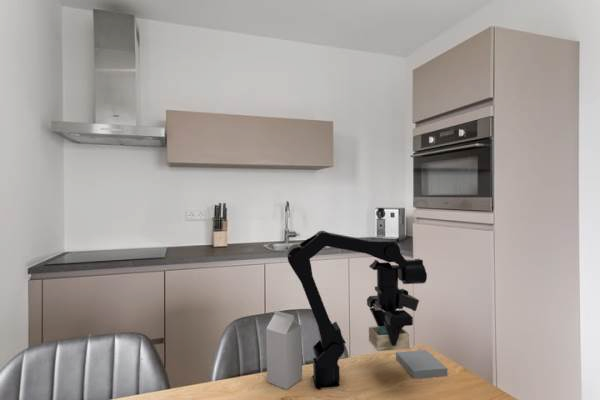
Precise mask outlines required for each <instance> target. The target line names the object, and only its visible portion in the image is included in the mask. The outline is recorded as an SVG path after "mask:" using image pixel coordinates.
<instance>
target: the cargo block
mask: <svg viewBox="0 0 600 400" xmlns="http://www.w3.org/2000/svg"><path fill="white" fill-rule="evenodd" d="M379 335H388V333H387V330H386V328H385V326H379Z"/></svg>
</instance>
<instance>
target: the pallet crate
mask: <svg viewBox="0 0 600 400" xmlns="http://www.w3.org/2000/svg"><path fill="white" fill-rule="evenodd" d="M368 342H370V344H371V345H372V346H373V347H374V349H375V350H376V351H377V352H385V351H398V350H407V349H408V350H409V349H410V333H409V332H407V331H406V330H405V329H404V327H403V328H402V329H401V331H400V334H399V337H398V340H397V344H396V346H392V345H391V342H390V339H389V336H388V335H379V326H377V325H375V326H368Z"/></svg>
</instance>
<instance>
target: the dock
mask: <svg viewBox="0 0 600 400" xmlns="http://www.w3.org/2000/svg"><path fill="white" fill-rule="evenodd" d="M395 359H396V361H397V362H398V363H399V364H400V365H401V367H402V368H404V370H406V372H407V373H408V374H409V375H410V376H411V377H412V378H413V379H414V380H416V379H426V378H436V377H446V376H447V377H448V367H447V366H446V365H444V364H443V363H442V362H441V361H440V360H438V359H437V358H436V357H435V356H434V355H433V354H432V353H431V352H429V351H428V350H427V349H420V350H407V351H395Z"/></svg>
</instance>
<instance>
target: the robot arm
mask: <svg viewBox="0 0 600 400" xmlns="http://www.w3.org/2000/svg"><path fill="white" fill-rule="evenodd" d="M326 247H329V248H335V249H341V250H346V251H352V252H356V253H362V254H366V255H368V256H372V257H374V258H376V259H374V261H373V262H372V263H370V265H368V267H369V268H370V269H372V270H373V271H376V282H377V283H376V284H377V285H376V286H374V291H376V293H377V295H369V296H367V299H366V306H367V307H369V311H370V312H371V314H372V316H373V319H374V321H375V324H376V326H385V328H386V330H387V333H388V336H389V339H390V342H391V345H392V346H396V344H397V340H398V337H399V334H400V331H401V329H402V328H403V329H404V327H406V326H408V327H409V326H413V324H414V317H413V316H412V315H411V314H410V313H408V312H407V311H406V310H405V309H404V308H406V309H410V310H412V311H414V312H416V311H417V309H418V306H419V302H420V299H417V298H416V297H414V296H412V295H410V294H409V291H408V290H406V289H404V288H399V281H401V282H402V284H403V285H414V284H415V285H417V284H418V285H419V284H426V282H427V277H428V276H427V275H428V274H427V271H426V267H425V265H424V261H423V259H420V258H415V259H414V258H413V259H406V258H405V257H404V256H403V255H402V253H401V248H400V246H399V245H398V243H397V242H395V241H392V240H389V239H386V238H365V239H364V238H359V237H354V236H348V235H344V234H338V233H333V232H328V231H325V230H318V231H317V232H316V233H315V234H313V235H312V236H311V237H309V238H307V239H305V240H303V241H302V242H300V243H296V244H292V245H290V247H288V248H287V251H286V258H287V262H288V263H289V265H290V267H291V269H292V270H293V272H294V274H295V275H296V276H297V278H298V280H299V281H300V283H301V286H302V288H303V290H304V293H305V294H304V295H305V296H306V299H307V301H308V304H309V307H310V310H311V312H312V314H313V316H314V319H315V322H316V325H317V331H318V337H319V340H318V341H317V342H316V343H315V344H314V345H313V347H312V350H313V353H314V357H312V363H313V364H312V366H313V367H312V370H313V372H312V373H313V375H312V376H311V379H312V381H313V384H314V387H315V389H316V390H321V389H326V388H337V387H340V383H339V382H340V381H341V380H340V377H341V375H340V366H339V363H338V362H339V359H340V358H341V357H342V356H343V354H344V352H345V351H346V350H345V345H344V344H347V342H346V341H345V339H344V336H343V334H342V330H341V328H340V326H339V324H338V322H337V321H334V322H333V323H332V321H331V319H330V318H329V314H328V312H327V310H326V308H325V305H324V302H323V299H322V297H321V294H320V291H319V289H318V286H317V284H316V282H315V279H314V276H313V271H312V270H313V269H312V263H311V259H312V258H313V257H315V256H316V255H317V254H318V253H319V252H320V251H322V250H323V249H324V248H326ZM378 259H379V260H381V261H384V262H380V261H379V260H378ZM391 263H395V264H391ZM397 309H399V310H397Z"/></svg>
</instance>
